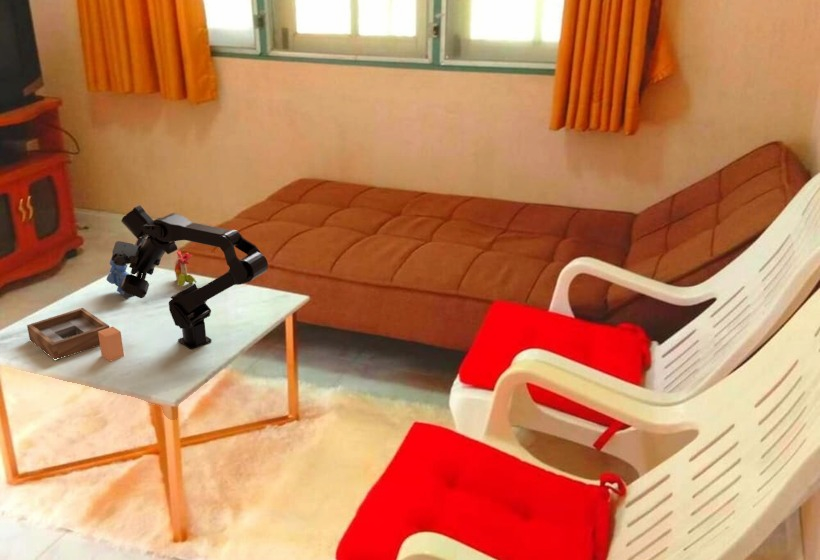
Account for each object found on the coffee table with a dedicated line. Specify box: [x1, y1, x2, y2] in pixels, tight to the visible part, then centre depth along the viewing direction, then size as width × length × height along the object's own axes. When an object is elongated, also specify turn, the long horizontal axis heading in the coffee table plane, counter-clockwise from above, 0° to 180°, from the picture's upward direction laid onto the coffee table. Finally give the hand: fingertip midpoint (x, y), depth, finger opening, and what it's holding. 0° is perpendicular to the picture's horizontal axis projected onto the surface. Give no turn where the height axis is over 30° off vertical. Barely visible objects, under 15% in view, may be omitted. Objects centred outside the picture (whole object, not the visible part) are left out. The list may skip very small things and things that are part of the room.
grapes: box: [105, 259, 130, 296], centre depth 227 cm, size 12×7×12 cm, turn 39°
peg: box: [98, 326, 125, 362], centre depth 196 cm, size 4×4×7 cm
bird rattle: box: [174, 250, 197, 288], centre depth 237 cm, size 6×11×9 cm
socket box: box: [26, 307, 110, 360], centre depth 203 cm, size 15×15×4 cm
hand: (128, 285), depth 208 cm, fingers open, 9 cm apart
